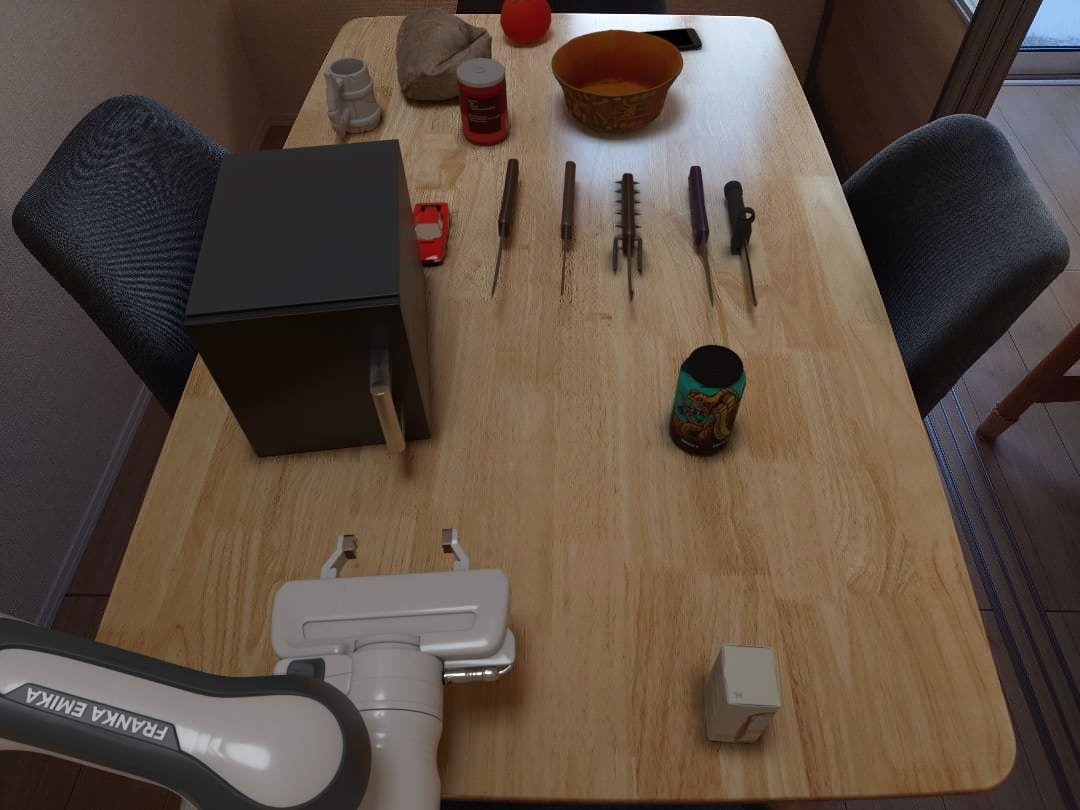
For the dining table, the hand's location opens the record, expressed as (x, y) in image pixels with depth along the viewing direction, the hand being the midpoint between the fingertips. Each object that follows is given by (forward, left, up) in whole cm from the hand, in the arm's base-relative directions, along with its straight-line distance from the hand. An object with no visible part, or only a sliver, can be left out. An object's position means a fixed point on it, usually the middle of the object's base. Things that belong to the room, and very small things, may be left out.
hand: (399, 534), depth 70 cm
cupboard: (+32, +8, -10) cm, 34 cm away
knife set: (+46, -30, -10) cm, 56 cm away
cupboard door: (+15, +8, -10) cm, 20 cm away
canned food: (+79, -13, -10) cm, 81 cm away
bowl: (+81, -35, -10) cm, 89 cm away
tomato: (+110, -23, -10) cm, 113 cm away
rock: (+95, -7, -10) cm, 96 cm away
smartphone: (+104, -48, -10) cm, 115 cm away
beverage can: (+14, -33, -10) cm, 37 cm away
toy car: (+53, -3, -10) cm, 54 cm away
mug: (+84, +9, -10) cm, 85 cm away
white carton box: (-17, -28, -10) cm, 34 cm away
